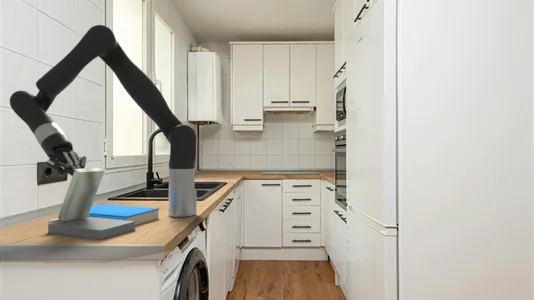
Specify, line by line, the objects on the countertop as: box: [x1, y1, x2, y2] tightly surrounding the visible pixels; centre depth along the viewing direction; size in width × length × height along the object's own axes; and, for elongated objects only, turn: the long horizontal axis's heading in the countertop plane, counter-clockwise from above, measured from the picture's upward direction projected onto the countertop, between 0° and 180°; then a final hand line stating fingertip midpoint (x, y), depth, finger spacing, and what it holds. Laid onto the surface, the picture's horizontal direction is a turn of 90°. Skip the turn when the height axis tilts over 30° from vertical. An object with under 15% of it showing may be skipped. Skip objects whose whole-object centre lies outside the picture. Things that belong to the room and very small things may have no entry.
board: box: [47, 214, 136, 241], centre depth 105 cm, size 13×20×4 cm, turn 69°
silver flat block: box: [57, 167, 105, 221], centre depth 107 cm, size 9×16×2 cm
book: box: [89, 203, 160, 226], centre depth 122 cm, size 17×4×25 cm
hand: (82, 181), depth 107 cm, fingers closed
